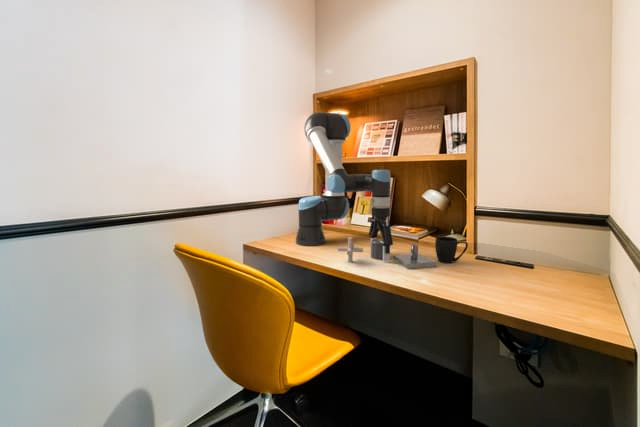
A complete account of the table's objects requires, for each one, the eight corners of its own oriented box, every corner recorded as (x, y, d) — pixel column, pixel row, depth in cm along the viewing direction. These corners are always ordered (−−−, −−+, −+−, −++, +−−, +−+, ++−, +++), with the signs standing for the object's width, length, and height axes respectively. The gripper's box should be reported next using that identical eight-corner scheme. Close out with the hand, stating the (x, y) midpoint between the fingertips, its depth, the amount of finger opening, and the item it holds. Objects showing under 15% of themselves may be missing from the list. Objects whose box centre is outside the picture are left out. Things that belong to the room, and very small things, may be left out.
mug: (465, 267, 121) (467, 243, 120) (432, 262, 127) (434, 239, 126) (467, 261, 128) (468, 238, 127) (436, 257, 134) (437, 235, 133)
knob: (368, 255, 138) (368, 239, 137) (384, 254, 140) (384, 238, 138) (374, 260, 131) (375, 243, 130) (391, 259, 133) (391, 242, 131)
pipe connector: (361, 266, 124) (362, 241, 122) (336, 264, 126) (336, 240, 124) (363, 258, 133) (363, 235, 132) (339, 257, 135) (340, 234, 134)
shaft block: (393, 259, 131) (393, 242, 130) (419, 258, 134) (420, 240, 133) (407, 269, 120) (407, 249, 119) (435, 266, 122) (436, 247, 121)
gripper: (362, 203, 143) (361, 249, 146) (384, 211, 119) (383, 265, 122) (377, 203, 145) (376, 248, 148) (402, 210, 121) (401, 264, 124)
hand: (379, 256), depth 135 cm, fingers open, 13 cm apart
